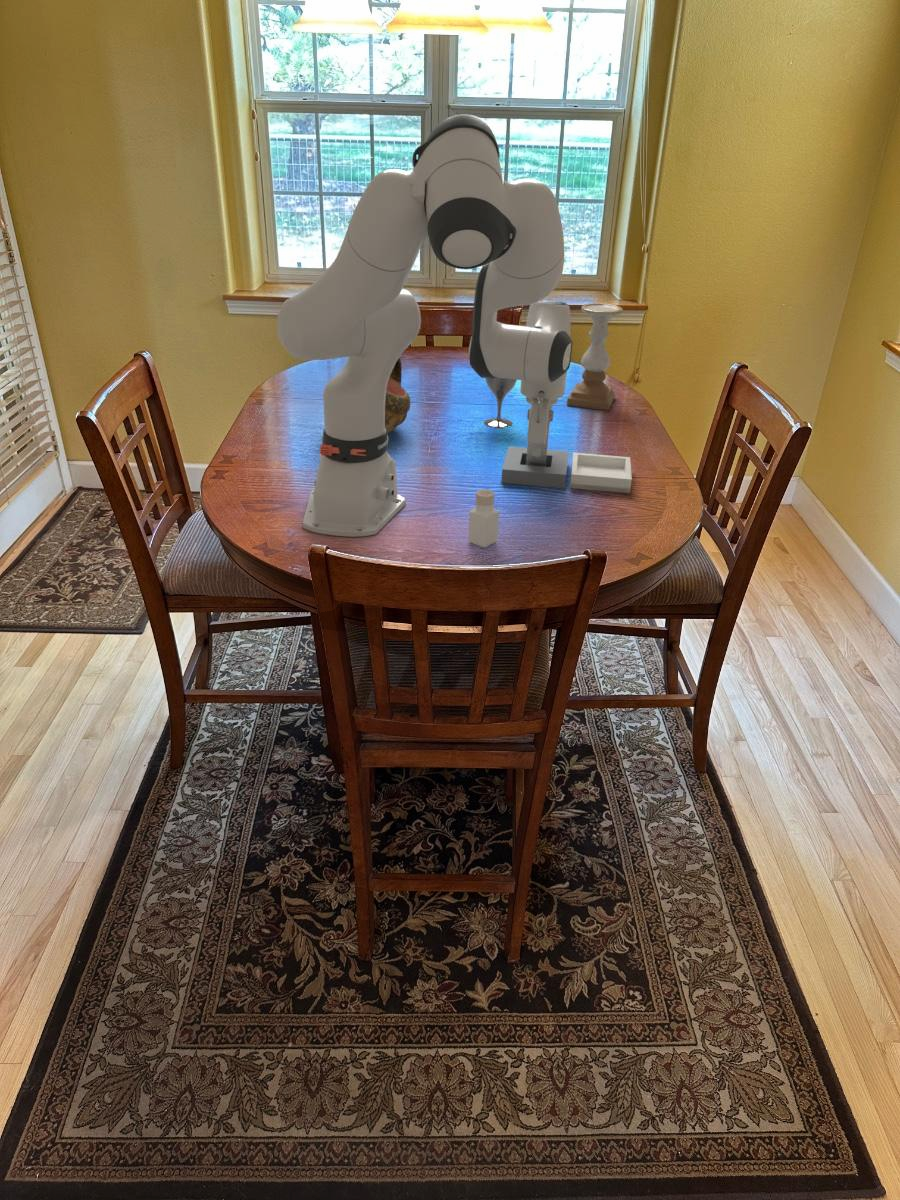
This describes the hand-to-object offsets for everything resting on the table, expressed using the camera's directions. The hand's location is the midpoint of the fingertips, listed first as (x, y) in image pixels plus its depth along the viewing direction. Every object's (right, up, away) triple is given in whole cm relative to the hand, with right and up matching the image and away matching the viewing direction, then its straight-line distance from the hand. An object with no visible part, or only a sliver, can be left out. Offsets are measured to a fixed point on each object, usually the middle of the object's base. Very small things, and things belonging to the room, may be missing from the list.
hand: (537, 450), depth 167 cm
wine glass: (-6, +12, +29) cm, 31 cm away
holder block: (0, -4, +3) cm, 5 cm away
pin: (0, -4, +3) cm, 5 cm away
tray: (+13, -6, +1) cm, 14 cm away
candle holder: (+19, +21, +44) cm, 52 cm away
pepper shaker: (-12, -21, -24) cm, 34 cm away
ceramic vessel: (-36, +7, +19) cm, 42 cm away
